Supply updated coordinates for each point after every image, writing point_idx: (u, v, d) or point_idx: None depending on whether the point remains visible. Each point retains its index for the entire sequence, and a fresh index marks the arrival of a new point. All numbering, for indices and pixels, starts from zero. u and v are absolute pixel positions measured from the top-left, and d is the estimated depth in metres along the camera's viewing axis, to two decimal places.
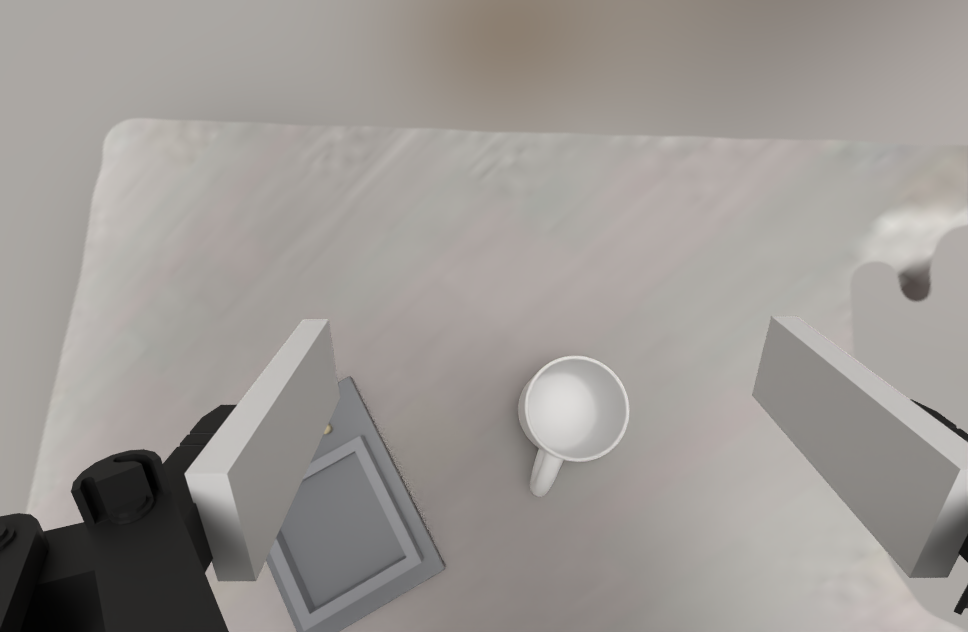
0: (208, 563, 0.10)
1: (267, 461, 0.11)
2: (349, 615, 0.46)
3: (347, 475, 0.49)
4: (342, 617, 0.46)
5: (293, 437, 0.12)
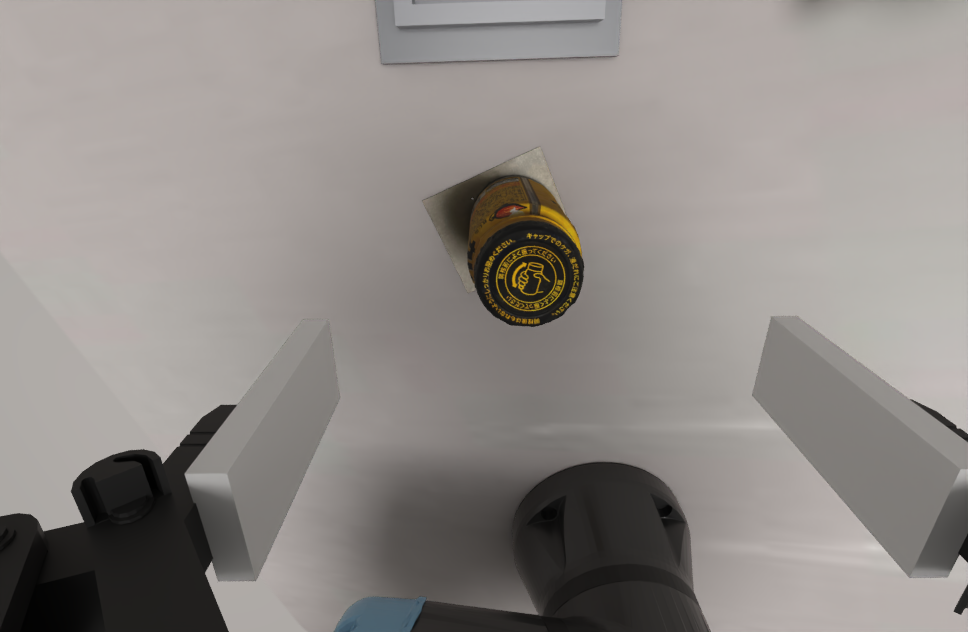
0: (208, 563, 0.10)
1: (267, 461, 0.11)
2: (460, 47, 0.30)
3: None
4: (449, 44, 0.30)
5: (293, 437, 0.12)
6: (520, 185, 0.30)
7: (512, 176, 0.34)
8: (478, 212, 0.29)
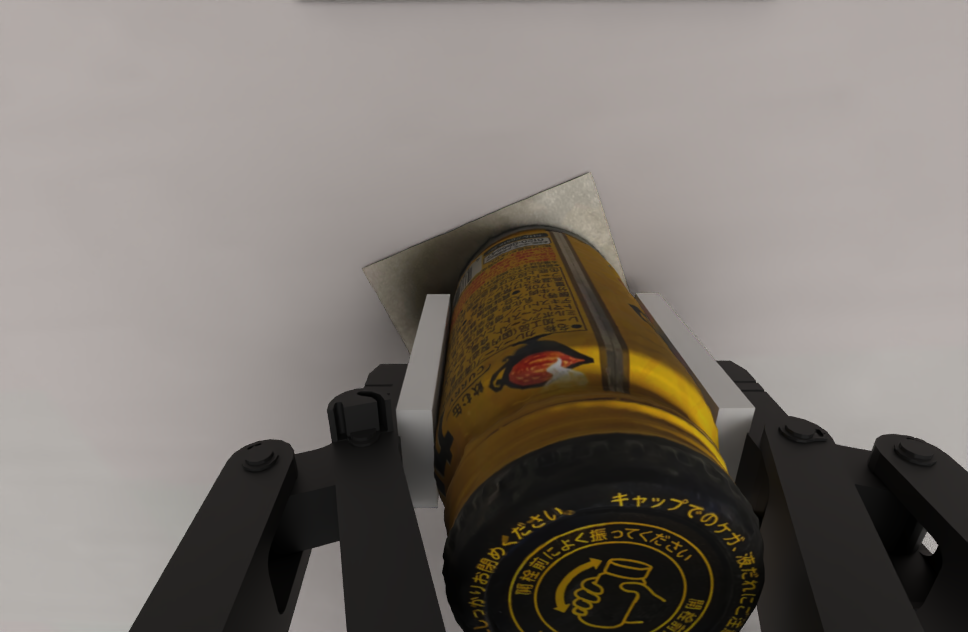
0: None
1: None
2: None
3: None
4: None
5: None
6: (557, 261, 0.14)
7: (534, 227, 0.17)
8: (465, 325, 0.13)
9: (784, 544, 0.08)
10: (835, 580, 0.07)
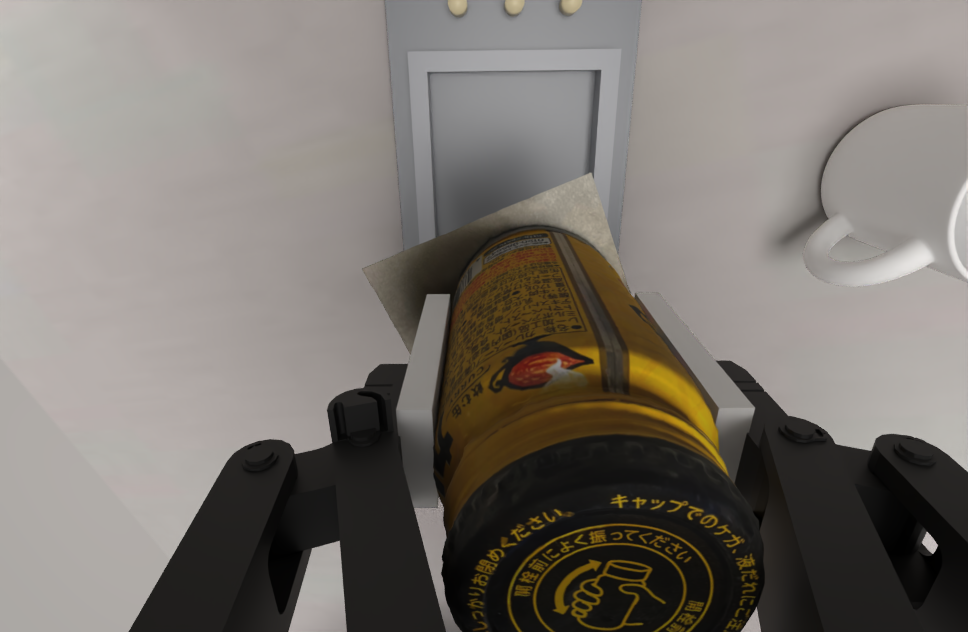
0: None
1: None
2: None
3: (560, 101, 0.30)
4: None
5: None
6: (557, 261, 0.14)
7: (534, 228, 0.17)
8: (465, 326, 0.13)
9: (784, 544, 0.08)
10: (835, 580, 0.07)
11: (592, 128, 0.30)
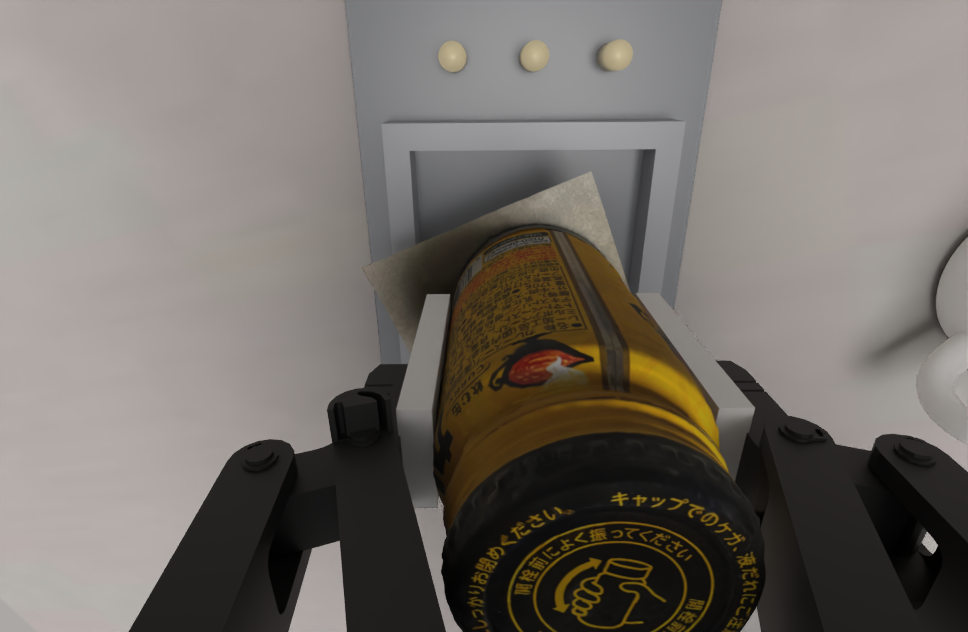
0: None
1: None
2: None
3: None
4: None
5: None
6: (557, 260, 0.14)
7: (534, 226, 0.17)
8: (465, 324, 0.13)
9: (784, 544, 0.08)
10: (835, 580, 0.07)
11: (637, 220, 0.22)
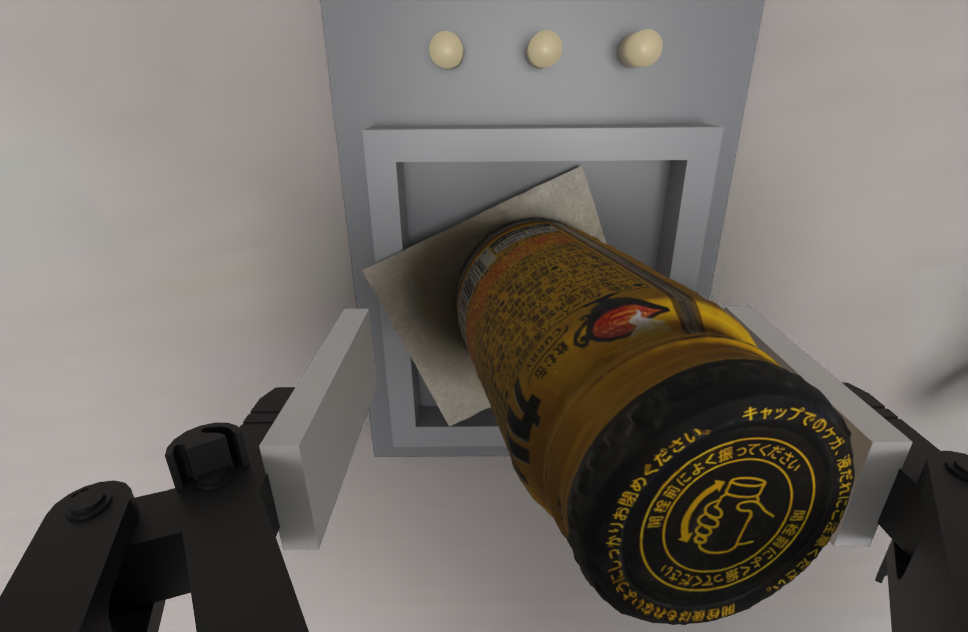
0: (276, 531, 0.10)
1: (326, 438, 0.11)
2: None
3: (612, 199, 0.19)
4: None
5: (344, 418, 0.13)
6: (577, 241, 0.15)
7: (531, 220, 0.18)
8: (505, 305, 0.13)
9: (934, 582, 0.08)
10: None
11: (661, 240, 0.19)
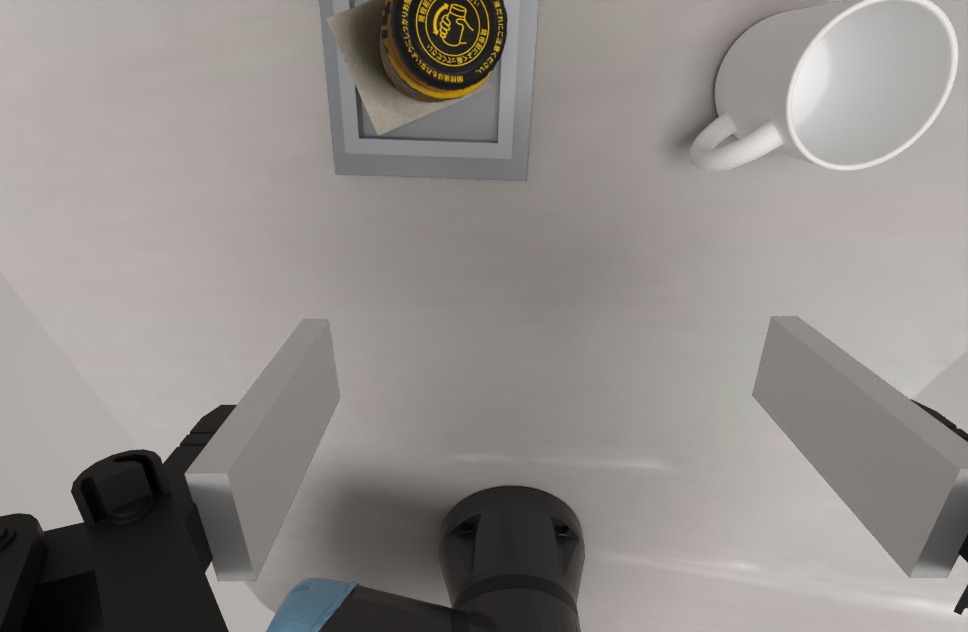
0: (208, 563, 0.10)
1: (267, 461, 0.11)
2: (399, 166, 0.37)
3: None
4: (390, 163, 0.37)
5: (293, 437, 0.12)
6: None
7: None
8: None
9: None
10: None
11: None
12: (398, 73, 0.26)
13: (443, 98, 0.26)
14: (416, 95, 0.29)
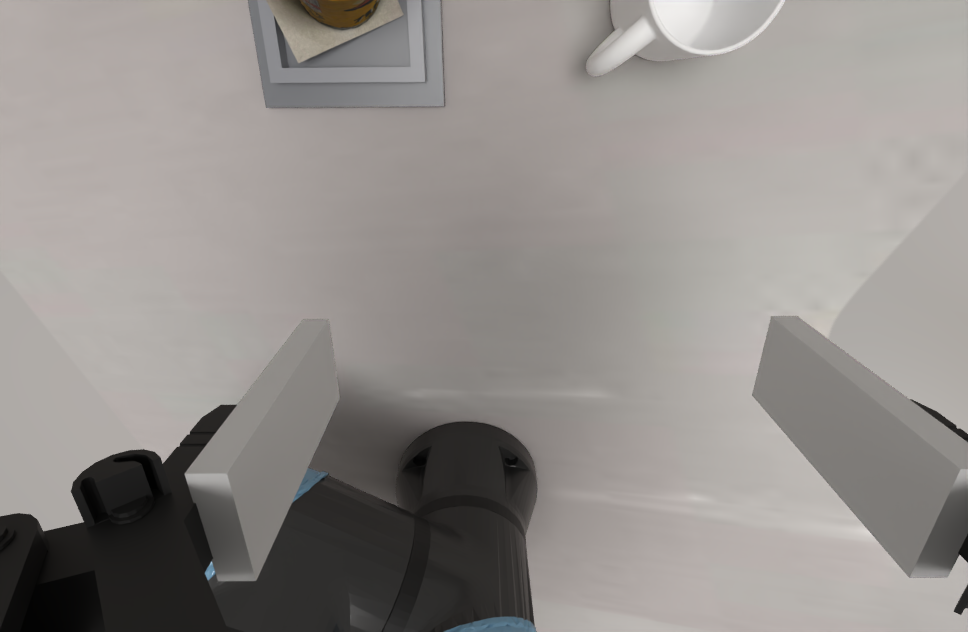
0: (208, 563, 0.10)
1: (267, 461, 0.11)
2: (324, 97, 0.40)
3: None
4: (316, 95, 0.40)
5: (294, 437, 0.12)
6: None
7: None
8: None
9: None
10: None
11: None
12: None
13: (334, 0, 0.29)
14: (319, 10, 0.32)
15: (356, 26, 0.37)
